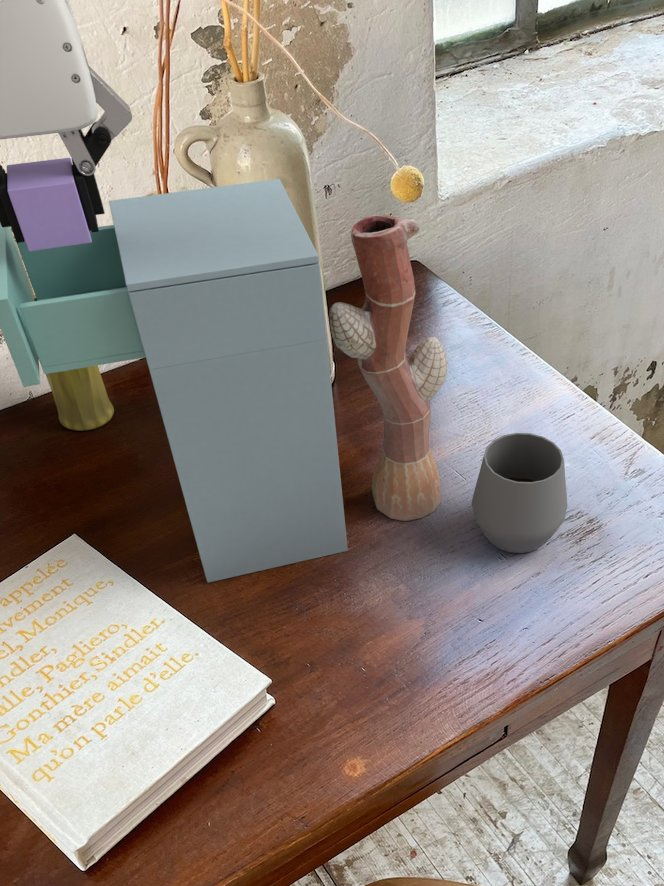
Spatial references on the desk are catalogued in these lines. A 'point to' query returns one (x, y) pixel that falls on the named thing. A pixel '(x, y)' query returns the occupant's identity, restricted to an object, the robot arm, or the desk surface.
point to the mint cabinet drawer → (66, 306)
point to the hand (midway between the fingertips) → (56, 226)
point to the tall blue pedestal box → (238, 369)
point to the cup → (520, 492)
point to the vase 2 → (394, 366)
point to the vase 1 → (80, 398)
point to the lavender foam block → (47, 204)
